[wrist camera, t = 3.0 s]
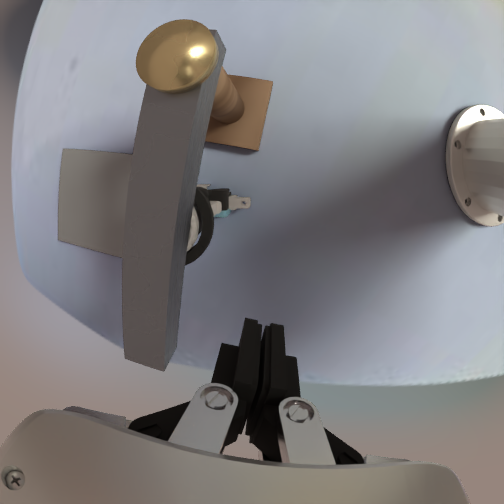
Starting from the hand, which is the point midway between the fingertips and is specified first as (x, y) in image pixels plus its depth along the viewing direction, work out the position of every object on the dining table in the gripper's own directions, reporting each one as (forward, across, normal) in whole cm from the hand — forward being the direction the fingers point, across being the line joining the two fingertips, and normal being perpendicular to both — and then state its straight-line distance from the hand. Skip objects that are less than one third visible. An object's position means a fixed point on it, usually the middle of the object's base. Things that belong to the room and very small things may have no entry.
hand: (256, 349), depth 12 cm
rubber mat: (+14, +16, -2) cm, 22 cm away
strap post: (+14, +5, -12) cm, 19 cm away
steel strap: (+3, +5, -5) cm, 8 cm away
